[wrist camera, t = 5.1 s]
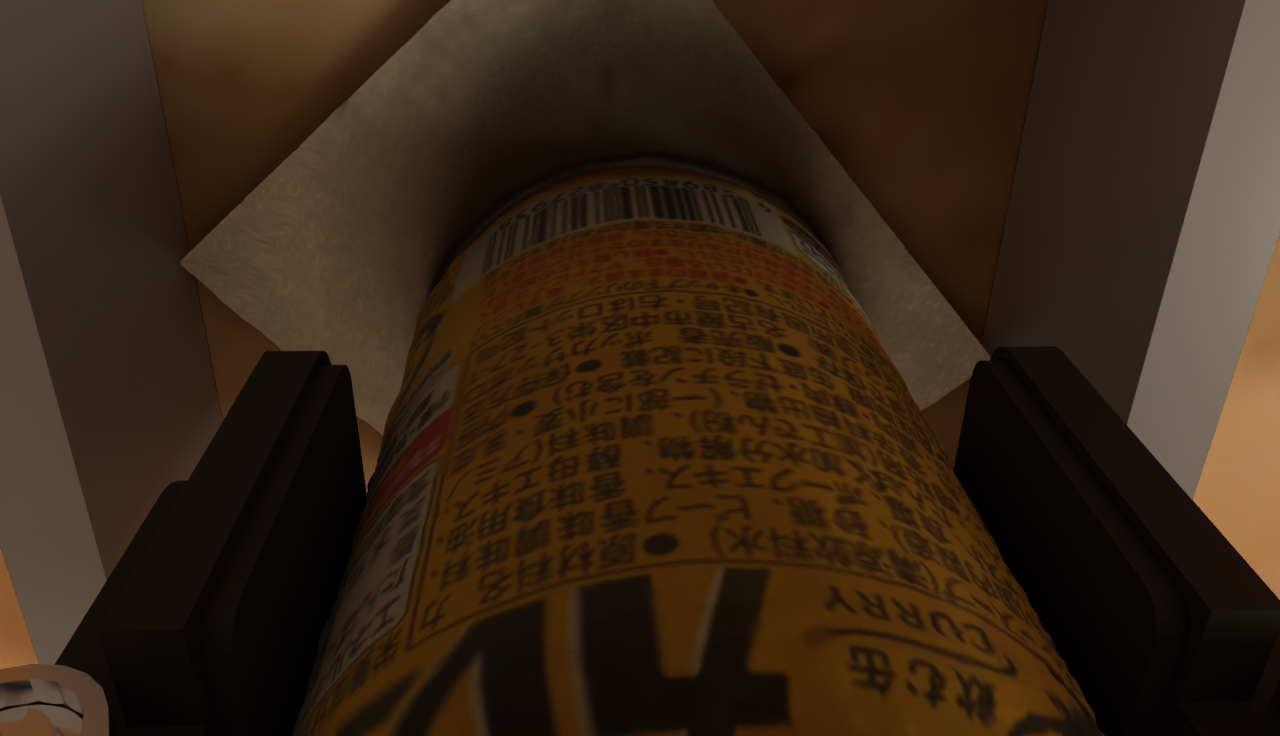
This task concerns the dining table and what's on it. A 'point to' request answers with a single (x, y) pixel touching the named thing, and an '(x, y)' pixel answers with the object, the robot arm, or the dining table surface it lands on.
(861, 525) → the condiment
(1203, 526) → the robot arm
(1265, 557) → the dining table surface
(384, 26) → the dining table surface
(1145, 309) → the bin
